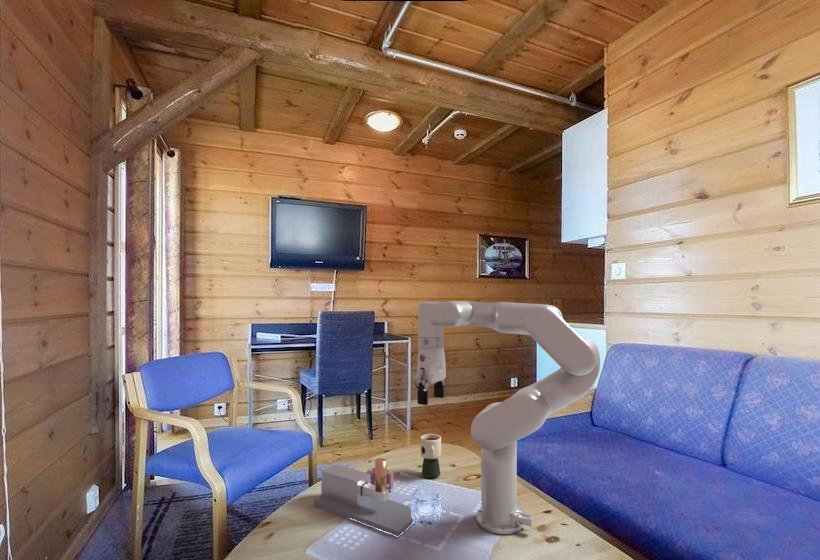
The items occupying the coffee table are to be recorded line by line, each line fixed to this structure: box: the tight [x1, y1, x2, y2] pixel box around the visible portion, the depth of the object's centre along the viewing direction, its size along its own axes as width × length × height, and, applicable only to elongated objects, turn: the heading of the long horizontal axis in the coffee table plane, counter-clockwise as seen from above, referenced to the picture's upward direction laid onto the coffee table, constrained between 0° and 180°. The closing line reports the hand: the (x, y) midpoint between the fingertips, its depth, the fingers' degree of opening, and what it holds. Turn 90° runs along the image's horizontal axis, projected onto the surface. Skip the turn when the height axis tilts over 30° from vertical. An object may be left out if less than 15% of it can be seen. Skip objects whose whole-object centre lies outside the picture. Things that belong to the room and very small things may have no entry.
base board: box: [313, 496, 413, 536], centre depth 116 cm, size 30×12×2 cm, turn 57°
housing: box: [320, 463, 371, 509], centre depth 120 cm, size 14×6×7 cm, turn 57°
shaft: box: [361, 457, 390, 502], centre depth 118 cm, size 20×3×10 cm, turn 57°
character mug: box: [419, 433, 442, 479], centre depth 139 cm, size 11×7×13 cm, turn 4°
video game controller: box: [365, 467, 395, 490], centre depth 130 cm, size 10×5×7 cm, turn 85°
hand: (431, 400), depth 120 cm, fingers open, 9 cm apart
